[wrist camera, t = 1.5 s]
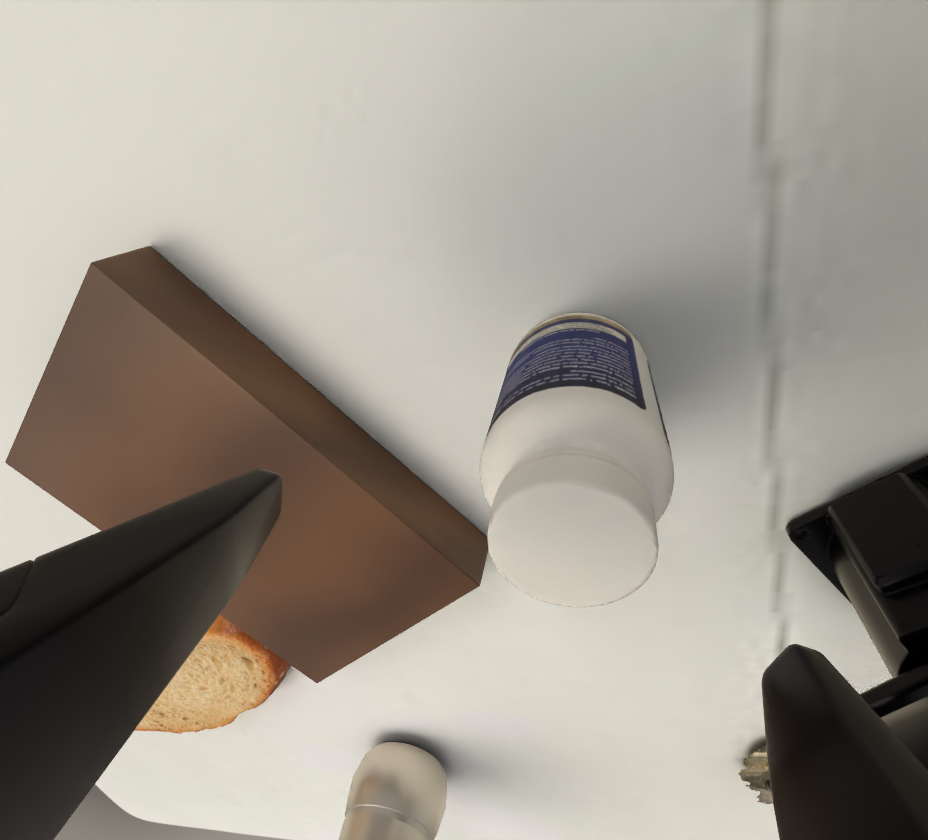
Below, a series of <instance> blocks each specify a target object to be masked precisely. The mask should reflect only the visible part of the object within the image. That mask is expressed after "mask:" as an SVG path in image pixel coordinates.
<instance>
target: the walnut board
mask: <svg viewBox="0 0 928 840" xmlns="http://www.w3.org/2000/svg"><path fill="white" fill-rule="evenodd" d="M6 463H7V464H8V465H9V466H11V467H12V468H14V469H15V470H16V471H18V472H19V473H21V474H22V475H23V476H25V477H26V478H28V479H29V480H31V481H32V482H33V483H35V484H36V485H38V486H39V487H40V488H42V489H43V490H45V491H46V492H47V493H49V494H50V495H52V496H53V497H55V498H56V499H57V500H59V501H60V502H62V503H63V504H64V505H66V506H67V507H69V508H70V509H72V510H73V511H74V512H76V513H77V514H79V515H80V516H81V517H83V518H84V519H86V520H87V521H88V522H90V523H91V524H93V525H94V526H96V527H97V528H98V529H100V530H101V531H103V530H106V529H108V528H111V527H113V526H116V525H118V524H121V523H123V522H126V521H128V520H131V519H133V518H136V517H138V516H140V515H143V514H145V513H148V512H150V511H153V510H155V509H158V508H160V507H163V506H165V505H168V504H170V503H173V502H175V501H178V500H180V499H182V498H185V497H187V496H190V495H192V494H195V493H197V492H200V491H202V490H205V489H207V488H210V487H212V486H215V485H217V484H220V483H222V482H225V481H227V480H229V479H232V478H234V477H237V476H239V475H242V474H244V473H247V472H249V471H252V470H254V469H258V468H262V469H265V470H268V471H271V472H275V473H278V474H279V475H280V476H281V477H282V502H281V512H280V515H279V518H278V520H277V522H276V524H275V526H274V527H273V529H272V531H271V533H270V534H269V536H268V538H267V539H266V541H265V543H264V545H263V546H262V548H261V550H260V551H259V553H258V555H257V557H256V558H255V560H254V562H253V563H252V565H251V567H250V569H249V570H248V572H247V574H246V576H245V577H244V579H243V581H242V582H241V584H240V586H239V587H238V589H237V591H236V592H235V594H234V595H233V597H232V598H231V600H230V601H229V602H228V604H227V605H226V607H225V608H224V609H223V611H222V612H221V613H220V615H221V616H223V617H224V618H225V619H227V620H228V621H230V622H231V623H232V624H234V625H235V626H237V627H238V628H240V629H241V630H242V631H244V632H245V633H247V634H248V635H249V636H251V637H252V638H254V639H255V640H256V641H258V642H259V643H261V644H262V645H264V646H265V647H266V648H268V649H269V650H271V651H272V652H273V653H275V654H276V655H278V656H279V657H280V658H282V659H283V660H285V661H286V662H288V663H289V664H290V665H292V666H293V667H295V668H296V669H297V670H299V671H300V672H302V673H303V674H304V675H306V676H307V677H309V678H310V679H312V680H313V681H314V682H316V683H318V682H320V681H322V680H323V679H325V678H327V677H328V676H330V675H332V674H333V673H335V672H337V671H338V670H340V669H342V668H343V667H345V666H347V665H348V664H350V663H352V662H353V661H355V660H357V659H358V658H360V657H362V656H363V655H365V654H367V653H368V652H370V651H372V650H373V649H375V648H377V647H378V646H380V645H382V644H383V643H385V642H387V641H388V640H390V639H392V638H393V637H395V636H397V635H399V634H400V633H402V632H404V631H405V630H407V629H409V628H410V627H412V626H414V625H415V624H417V623H419V622H420V621H422V620H424V619H425V618H427V617H429V616H430V615H432V614H434V613H435V612H437V611H439V610H440V609H442V608H444V607H445V606H447V605H449V604H450V603H452V602H454V601H455V600H457V599H459V598H460V597H462V596H464V595H465V594H467V593H469V592H470V591H472V590H474V589H475V588H477V587H479V586H480V583H481V579H482V574H483V570H484V566H485V561H486V557H487V553H488V549H489V548H488V542H487V537H486V536H485V535H484V534H483V533H482V532H480V531H479V530H478V529H477V528H476V527H475V526H473V525H472V524H471V523H470V522H469V521H468V520H467V519H465V518H464V517H463V516H462V515H461V514H460V513H458V512H457V511H456V510H455V509H454V508H453V507H451V506H450V505H449V504H448V503H447V502H446V501H445V500H443V499H442V498H441V497H440V496H439V495H438V494H436V493H435V492H434V491H433V490H432V489H431V488H429V487H428V486H427V485H426V484H425V483H424V482H423V481H421V480H420V479H419V478H418V477H417V476H416V475H414V474H413V473H412V472H411V471H410V470H409V469H407V468H406V467H405V466H404V465H403V464H402V463H400V462H399V461H398V460H397V459H396V458H395V457H394V456H392V455H391V454H390V453H389V452H388V451H387V450H385V449H384V448H383V447H382V446H381V445H380V444H378V443H377V442H376V441H375V440H374V439H373V438H372V437H370V436H369V435H368V434H367V433H366V432H365V431H363V430H362V429H361V428H360V427H359V426H358V425H356V424H355V423H354V422H353V421H352V420H351V419H350V418H348V417H347V416H346V415H345V414H344V413H343V412H341V411H340V410H339V409H338V408H337V407H336V406H334V405H333V404H332V403H331V402H330V401H329V400H328V399H326V398H325V397H324V396H323V395H322V394H321V393H319V392H318V391H317V390H316V389H315V388H314V387H312V386H311V385H310V384H309V383H308V382H307V381H306V380H304V379H303V378H302V377H301V376H300V375H299V374H297V373H296V372H295V371H294V370H293V369H292V368H290V367H289V366H288V365H287V364H286V363H285V362H284V361H282V360H281V359H280V358H279V357H278V356H277V355H275V354H274V353H273V352H272V351H271V350H270V349H268V348H267V347H266V346H265V345H264V344H263V343H262V342H260V341H259V340H258V339H257V338H256V337H255V336H253V335H252V334H251V333H250V332H249V331H248V330H246V329H245V328H244V327H243V326H242V325H241V324H240V323H238V322H237V321H236V320H235V319H234V318H233V317H231V316H230V315H229V314H228V313H227V312H226V311H224V310H223V309H222V308H221V307H220V306H219V305H217V304H216V303H215V302H214V301H213V300H212V299H211V298H209V297H208V296H207V295H206V294H205V293H204V292H202V291H201V290H200V289H199V288H198V287H197V286H195V285H194V284H193V283H192V282H191V281H190V280H189V279H187V278H186V277H185V276H184V275H183V274H182V273H180V272H179V271H178V270H177V269H176V268H175V267H173V266H172V265H171V264H170V263H169V262H168V261H167V260H165V259H164V258H163V257H162V256H161V255H160V254H158V253H157V252H156V251H155V250H154V249H153V248H151V247H150V246H148V247H144V248H141V249H137V250H134V251H130V252H127V253H123V254H120V255H116V256H113V257H109V258H106V259H102V260H99V261H95V262H92V263H91V264H90V267H89V269H88V271H87V274H86V276H85V278H84V281H83V283H82V285H81V288H80V290H79V292H78V295H77V297H76V299H75V302H74V304H73V306H72V308H71V311H70V313H69V315H68V318H67V320H66V322H65V325H64V327H63V329H62V332H61V334H60V336H59V339H58V341H57V343H56V346H55V348H54V350H53V353H52V355H51V357H50V360H49V362H48V364H47V367H46V369H45V371H44V374H43V376H42V378H41V380H40V383H39V385H38V387H37V390H36V392H35V394H34V397H33V399H32V401H31V404H30V406H29V408H28V411H27V413H26V415H25V418H24V420H23V422H22V425H21V427H20V429H19V432H18V434H17V436H16V439H15V441H14V443H13V446H12V448H11V450H10V453H9V455H8V457H7V459H6Z"/></svg>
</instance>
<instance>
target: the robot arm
mask: <svg viewBox="0 0 928 840" xmlns="http://www.w3.org/2000/svg"><path fill="white" fill-rule="evenodd" d="M281 502H282V477H281V476H280V475H279V474H278V473H275V472H271V471H268V470H265V469H262V468H258V469H254V470H252V471H249V472H247V473H244V474H242V475H239V476H237V477H234V478H232V479H229V480H227V481H225V482H222V483H220V484H217V485H215V486H212V487H210V488H207V489H205V490H202V491H200V492H197V493H195V494H192V495H190V496H187V497H185V498H182V499H180V500H178V501H175V502H173V503H170V504H168V505H165V506H163V507H160V508H158V509H155V510H153V511H150V512H148V513H145V514H143V515H140V516H138V517H136V518H133V519H131V520H128V521H126V522H123V523H121V524H118V525H116V526H113V527H111V528H108V529H106V530H103V531H101V532H98V533H96V534H93V535H91V536H89V537H86V538H84V539H81V540H79V541H76V542H74V543H71V544H69V545H66V546H64V547H61V548H59V549H56V550H54V551H51V552H49V553H46V554H44V555H42V556H39V557H37V558H36V559H35V560H34V561H32V560H29V561H26V562H24V563H21V564H19V565H16V566H14V567H11V568H9V569H6V570H4V571H2V572H0V840H54V838H55V837H56V836H57V834H58V833H59V832H60V830H61V829H62V828H63V826H64V825H65V823H66V822H67V821H68V819H69V818H70V817H71V815H72V814H73V813H74V811H75V810H76V809H77V807H78V806H79V804H80V803H81V802H82V800H83V799H84V798H85V796H86V795H87V794H88V792H89V791H90V790H91V788H92V787H93V786H94V784H95V783H96V781H97V780H98V779H99V777H100V776H101V775H102V773H103V772H104V771H105V769H106V768H107V767H108V765H109V764H110V762H111V761H112V760H113V758H114V757H115V756H116V754H117V753H118V752H119V750H120V749H121V748H122V746H123V745H124V744H125V742H126V741H127V739H128V738H129V737H130V735H131V734H132V733H133V731H134V730H135V729H136V727H137V726H138V725H139V723H140V722H141V720H142V719H143V718H144V716H145V715H146V714H147V712H148V711H149V710H150V708H151V707H152V706H153V704H154V703H155V702H156V700H157V699H158V697H159V696H160V695H161V693H162V692H163V691H164V689H165V688H166V687H167V685H168V684H169V683H170V681H171V680H172V678H173V677H174V676H175V674H176V673H177V672H178V670H179V669H180V668H181V666H182V665H183V664H184V662H185V661H186V660H187V658H188V657H189V655H190V654H191V653H192V651H193V650H194V649H195V647H196V646H197V645H198V643H199V642H200V641H201V639H202V638H203V636H204V635H205V634H206V632H207V631H208V630H209V628H210V627H211V626H212V624H213V623H214V622H215V620H216V619H217V618H218V616H219V615H220V613H221V612H222V611H223V609H224V608H225V607H226V605H227V604H228V602H229V601H230V600H231V598H232V597H233V595H234V594H235V592H236V591H237V589H238V587H239V586H240V584H241V582H242V581H243V579H244V577H245V576H246V574H247V572H248V570H249V569H250V567H251V565H252V563H253V562H254V560H255V558H256V557H257V555H258V553H259V551H260V550H261V548H262V546H263V545H264V543H265V541H266V539H267V538H268V536H269V534H270V533H271V531H272V529H273V527H274V526H275V524H276V522H277V520H278V518H279V515H280V512H281ZM800 530H805V531H804V532H801V533H797V532H798V531H800ZM786 531H787V533H788V535H789V537H790V539H791V541H792V542H793V543H794V544H795V545H796V546H797V547H798V548H799V549H800V550H801V551H802V552H803V553H804V554H805V555H806V556H807V557H808V558H809V559H810V561H811V562H812V563H813V564H814V565H815V566H816V567H817V568H818V569H819V570H820V571H821V572H822V573H823V574H824V575H825V576H826V577H827V578H828V579H829V580H830V581H831V583H832V584H833V585H834V586H835V587H836V588H837V589H838V590H839V591H840V592H841V593H842V594H843V595H844V596H845V597H846V598H847V599H848V600H849V601H850V602H851V603H852V605H853V606H854V608H855V610H856V612H857V614H858V615H859V617H860V619H861V621H862V623H863V625H864V626H865V628H866V630H867V632H868V634H869V636H870V637H871V639H872V641H873V643H874V645H875V647H876V648H877V650H878V652H879V654H880V656H881V658H882V659H883V661H884V663H885V665H886V667H887V668H888V670H889V672H890V674H891V676H892V679H890V680H888V681H885V682H883V683H881V684H879V685H877V686H875V687H873V688H871V689H869V690H867V691H865V692H863V693H861V694H858V693H857V691H856V690H855V689H854V688H853V687H852V686H851V685H850V684H849V683H848V682H847V680H846V679H845V678H844V677H843V676H842V675H841V674H840V673H839V672H838V671H837V669H836V668H835V667H834V666H833V665H832V664H831V663H830V662H829V661H828V659H827V658H826V657H825V656H824V655H823V654H821V653H820V652H818V651H816V650H813V649H810V648H807V647H804V646H801V645H798V644H792V645H789V646H788V647H786V648H785V650H784V651H783V652H782V653H781V654H780V655H779V656H778V657H777V658H776V659H775V660H774V661H773V662H772V663H771V664H770V666H769V667H768V668H767V669H766V670H765V672H764V674H763V678H762V695H763V708H764V721H765V734H766V747H767V760H768V770H769V779H770V786H771V792H772V799H773V804H774V810H775V815H776V821H777V827H778V832H779V838H780V840H928V456H926V457H924V458H922V459H920V460H918V461H916V462H914V463H912V464H910V465H908V466H905V467H903V468H901V469H899V470H897V471H895V472H893V473H891V474H889V475H887V476H885V477H883V478H880V479H878V480H876V481H874V482H872V483H870V484H868V485H866V486H864V487H862V488H860V489H857V490H855V491H853V492H851V493H849V494H847V495H845V496H843V497H841V498H839V499H837V500H835V501H832V502H830V503H828V504H826V505H824V506H822V507H820V508H818V509H816V510H814V511H812V512H810V513H807V514H805V515H803V516H801V517H799V518H797V519H795V520H793V521H791V522H790V523H788V525H787V526H786Z"/></svg>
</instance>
